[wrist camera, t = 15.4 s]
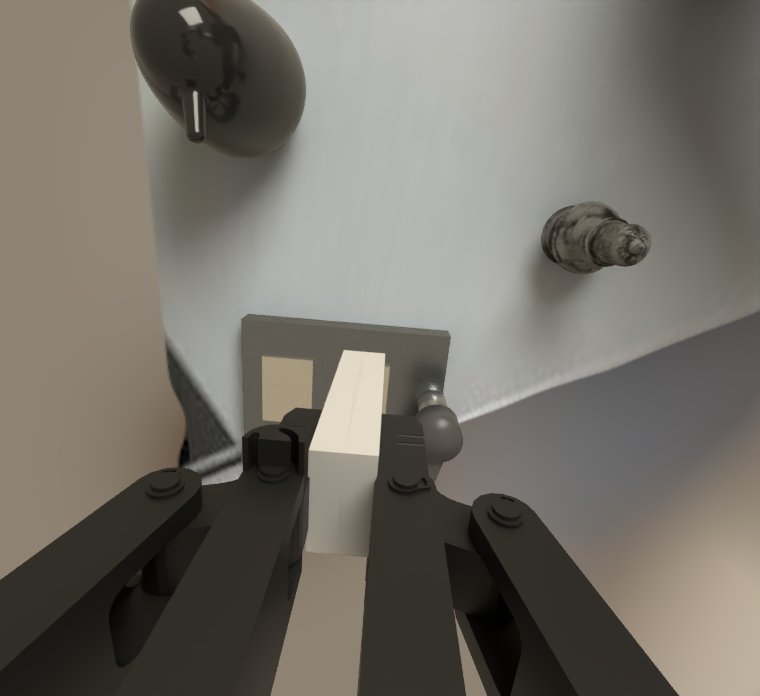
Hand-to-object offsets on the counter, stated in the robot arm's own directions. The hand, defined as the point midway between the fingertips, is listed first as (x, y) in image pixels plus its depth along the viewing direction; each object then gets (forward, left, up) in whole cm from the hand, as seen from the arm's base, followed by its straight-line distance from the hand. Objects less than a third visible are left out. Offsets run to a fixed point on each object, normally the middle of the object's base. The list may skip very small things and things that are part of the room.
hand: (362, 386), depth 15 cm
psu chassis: (+3, +12, -26) cm, 29 cm away
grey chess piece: (-17, -5, -27) cm, 32 cm away
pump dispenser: (+12, -14, -27) cm, 32 cm away
